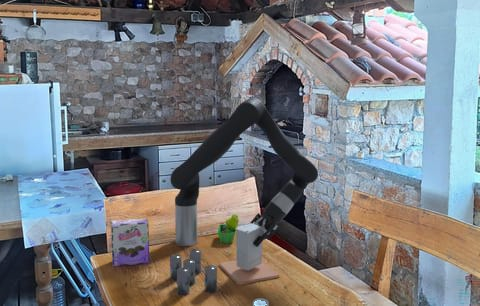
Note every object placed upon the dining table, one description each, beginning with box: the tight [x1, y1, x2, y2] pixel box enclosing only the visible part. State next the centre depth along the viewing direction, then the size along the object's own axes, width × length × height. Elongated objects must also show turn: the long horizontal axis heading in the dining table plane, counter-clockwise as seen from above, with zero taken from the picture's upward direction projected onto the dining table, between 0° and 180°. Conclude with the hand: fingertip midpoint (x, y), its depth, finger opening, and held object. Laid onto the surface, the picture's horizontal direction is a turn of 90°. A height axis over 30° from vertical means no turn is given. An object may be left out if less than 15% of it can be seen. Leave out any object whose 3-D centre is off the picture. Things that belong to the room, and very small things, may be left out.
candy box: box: [110, 218, 150, 268], centre depth 182 cm, size 14×6×16 cm, turn 105°
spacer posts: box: [169, 248, 218, 296], centre depth 165 cm, size 20×13×8 cm, turn 24°
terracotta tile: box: [218, 259, 280, 286], centre depth 176 cm, size 18×16×1 cm
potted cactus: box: [217, 214, 240, 244], centre depth 207 cm, size 11×9×11 cm
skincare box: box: [235, 222, 263, 271], centre depth 174 cm, size 8×6×15 cm
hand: (250, 241), depth 174 cm, fingers closed on skincare box, 7 cm apart
